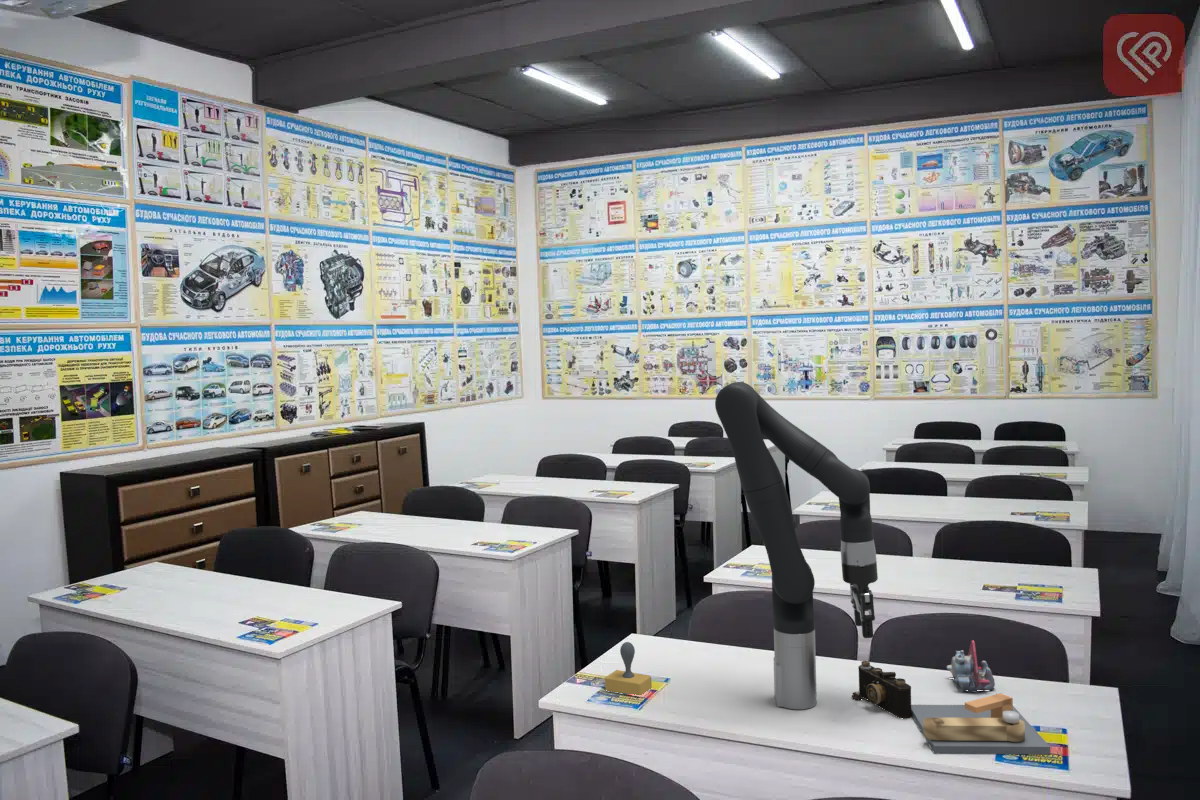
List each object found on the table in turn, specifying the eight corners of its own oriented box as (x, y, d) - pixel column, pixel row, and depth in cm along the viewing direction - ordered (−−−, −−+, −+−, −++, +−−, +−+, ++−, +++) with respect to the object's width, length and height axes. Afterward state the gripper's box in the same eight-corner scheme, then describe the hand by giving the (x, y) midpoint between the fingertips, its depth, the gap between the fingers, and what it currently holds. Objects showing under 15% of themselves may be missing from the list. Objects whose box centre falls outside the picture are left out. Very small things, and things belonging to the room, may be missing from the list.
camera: (845, 696, 210) (844, 662, 210) (869, 691, 213) (869, 658, 212) (891, 722, 195) (890, 686, 194) (916, 717, 197) (915, 681, 197)
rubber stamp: (652, 690, 218) (650, 641, 218) (641, 698, 213) (639, 648, 213) (616, 684, 223) (614, 636, 223) (604, 692, 218) (603, 643, 218)
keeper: (1001, 718, 191) (1000, 693, 191) (1013, 723, 188) (1012, 697, 188) (965, 728, 187) (964, 702, 186) (976, 734, 184) (976, 707, 184)
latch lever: (1019, 731, 184) (1019, 716, 184) (1028, 741, 179) (1028, 727, 179) (920, 730, 186) (920, 716, 186) (927, 741, 181) (926, 726, 181)
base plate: (934, 753, 179) (933, 721, 179) (908, 711, 200) (908, 682, 200) (1050, 754, 177) (1050, 721, 177) (1012, 711, 198) (1012, 682, 198)
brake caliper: (1009, 686, 206) (974, 644, 207) (969, 713, 208) (935, 671, 209) (998, 669, 217) (966, 629, 218) (960, 694, 219) (928, 655, 220)
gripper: (836, 553, 208) (841, 622, 209) (847, 568, 194) (853, 642, 195) (869, 551, 208) (874, 620, 209) (883, 566, 194) (888, 640, 194)
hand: (864, 631), depth 202 cm, fingers open, 8 cm apart
